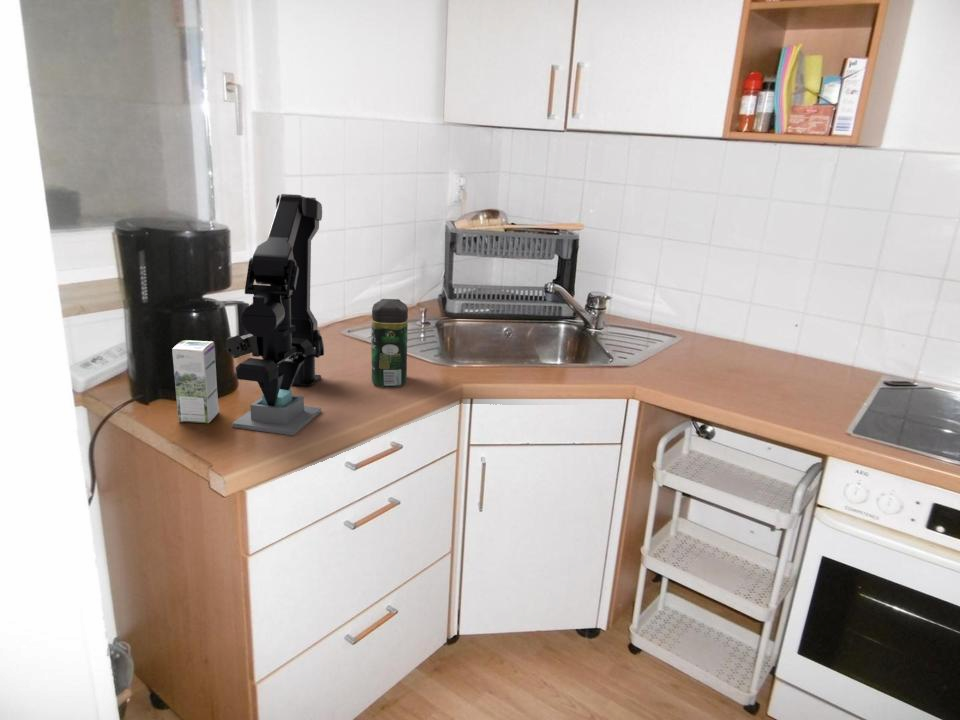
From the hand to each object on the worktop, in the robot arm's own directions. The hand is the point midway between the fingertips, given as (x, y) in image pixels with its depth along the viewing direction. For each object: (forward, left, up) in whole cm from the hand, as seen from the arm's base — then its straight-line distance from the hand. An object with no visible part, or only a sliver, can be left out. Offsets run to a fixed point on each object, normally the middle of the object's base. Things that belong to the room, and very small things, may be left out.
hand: (277, 401), depth 127 cm
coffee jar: (-27, +13, -4) cm, 30 cm away
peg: (0, 0, -3) cm, 3 cm away
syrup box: (+4, -14, -4) cm, 15 cm away
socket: (0, 0, -4) cm, 4 cm away
